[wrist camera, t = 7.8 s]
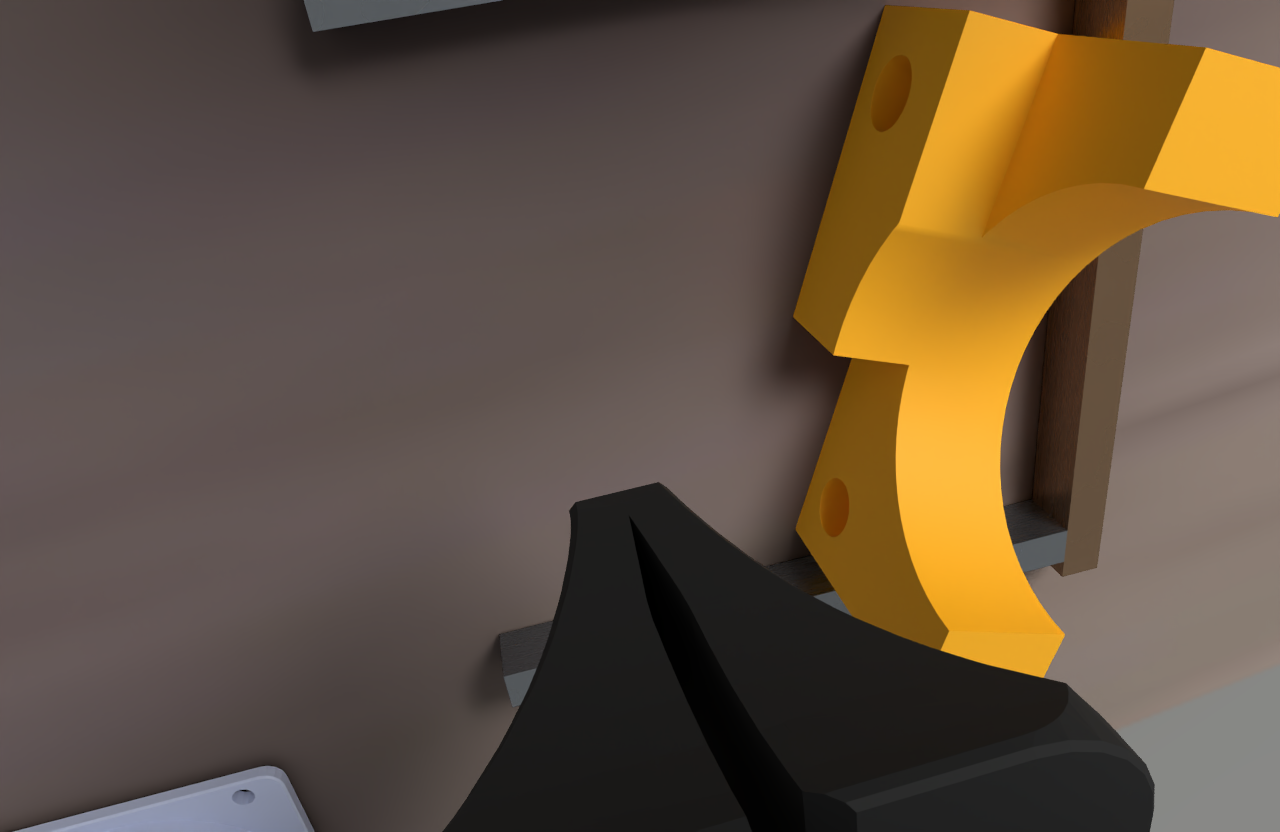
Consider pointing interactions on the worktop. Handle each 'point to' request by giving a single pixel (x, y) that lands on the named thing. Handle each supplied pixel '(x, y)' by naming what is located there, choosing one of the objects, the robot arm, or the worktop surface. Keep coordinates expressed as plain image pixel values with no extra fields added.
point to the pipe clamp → (988, 284)
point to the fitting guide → (1072, 376)
